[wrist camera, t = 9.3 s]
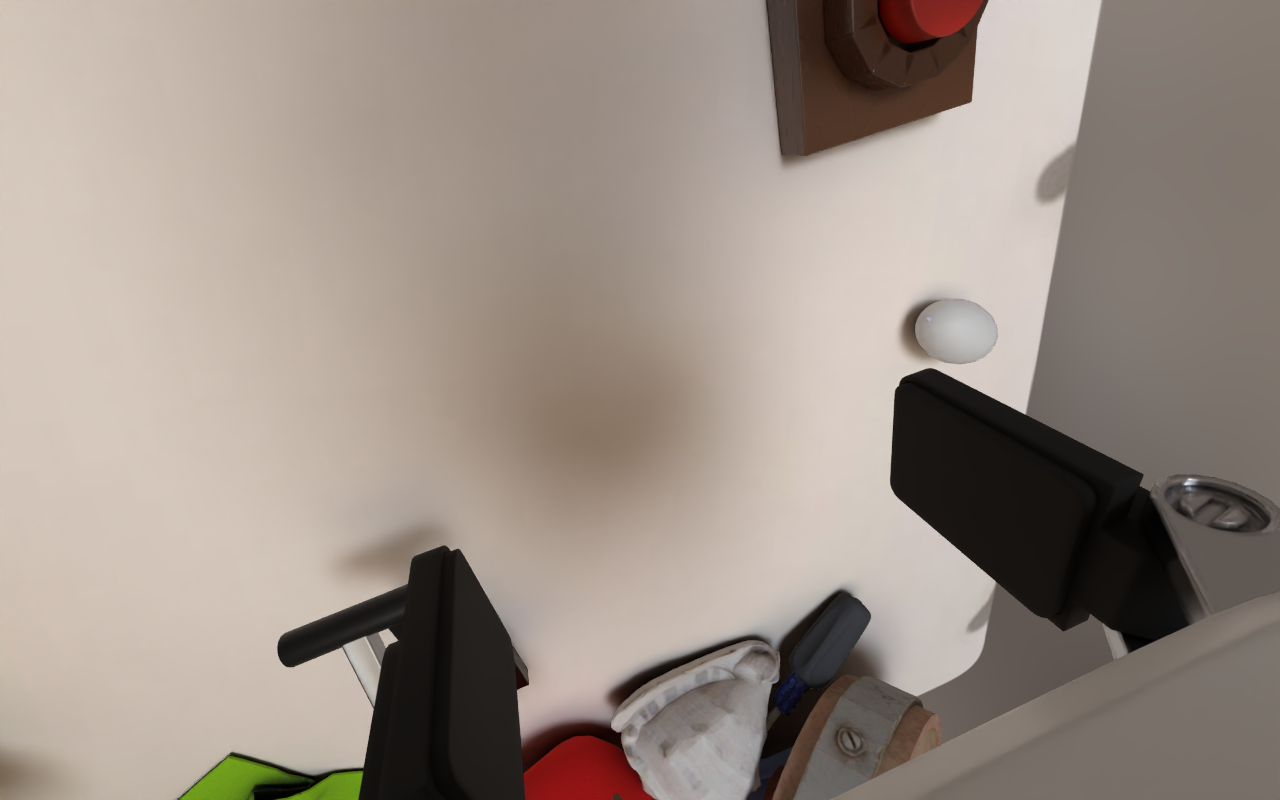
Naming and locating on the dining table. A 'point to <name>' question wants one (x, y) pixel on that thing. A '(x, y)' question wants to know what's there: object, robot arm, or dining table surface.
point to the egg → (956, 331)
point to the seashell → (701, 725)
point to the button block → (859, 72)
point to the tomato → (584, 773)
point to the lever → (349, 637)
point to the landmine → (854, 739)
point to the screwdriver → (820, 652)
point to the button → (925, 18)
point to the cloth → (270, 784)
